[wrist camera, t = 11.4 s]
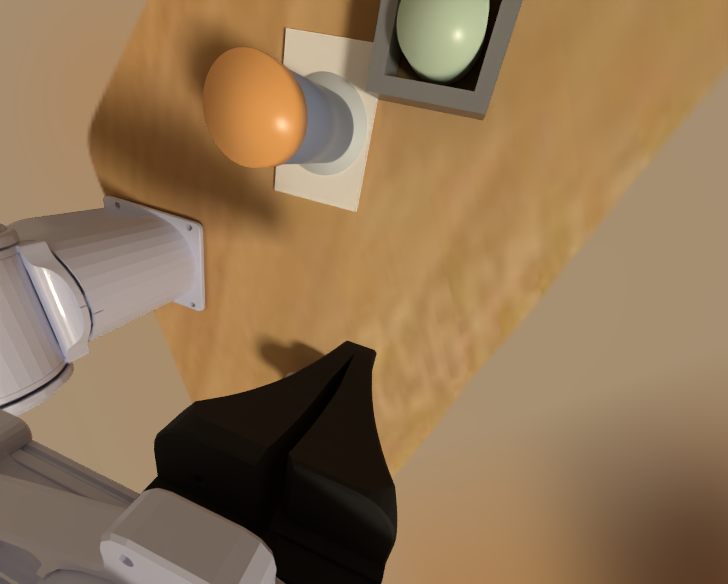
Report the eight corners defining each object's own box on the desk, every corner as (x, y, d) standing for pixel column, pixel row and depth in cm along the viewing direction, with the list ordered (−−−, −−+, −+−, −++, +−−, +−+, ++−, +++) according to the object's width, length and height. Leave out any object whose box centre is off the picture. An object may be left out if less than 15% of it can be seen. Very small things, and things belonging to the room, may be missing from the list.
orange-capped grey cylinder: (289, 158, 21) (206, 159, 14) (293, 83, 19) (198, 41, 12) (350, 170, 20) (292, 176, 13) (359, 91, 18) (298, 52, 11)
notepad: (276, 189, 22) (273, 190, 22) (288, 29, 18) (285, 27, 18) (357, 211, 21) (355, 212, 21) (388, 46, 17) (386, 43, 17)
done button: (399, 78, 17) (387, 64, 14) (418, -12, 15) (409, -48, 13) (469, 91, 16) (470, 78, 14) (497, -2, 15) (504, -37, 12)
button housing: (378, 99, 18) (365, 90, 16) (404, -41, 16) (393, -75, 13) (483, 120, 17) (485, 114, 15) (530, -26, 14) (542, -61, 12)
